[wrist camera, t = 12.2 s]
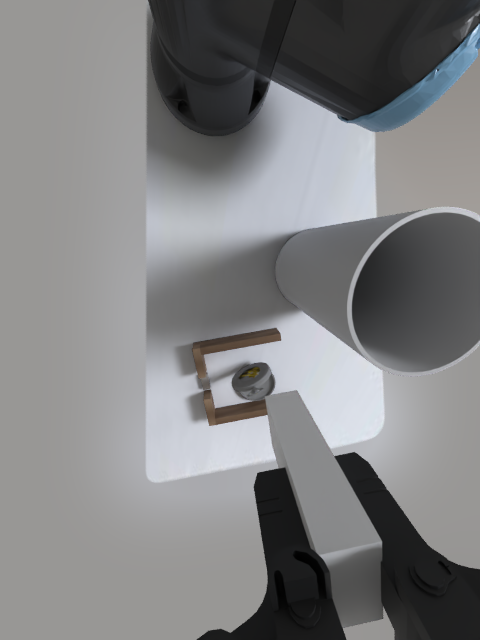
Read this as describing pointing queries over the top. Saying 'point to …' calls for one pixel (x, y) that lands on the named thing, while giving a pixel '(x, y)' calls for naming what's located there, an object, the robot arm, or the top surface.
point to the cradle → (199, 350)
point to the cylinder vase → (392, 286)
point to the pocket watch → (254, 381)
